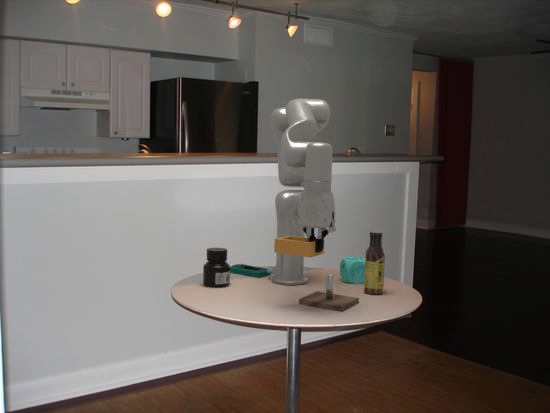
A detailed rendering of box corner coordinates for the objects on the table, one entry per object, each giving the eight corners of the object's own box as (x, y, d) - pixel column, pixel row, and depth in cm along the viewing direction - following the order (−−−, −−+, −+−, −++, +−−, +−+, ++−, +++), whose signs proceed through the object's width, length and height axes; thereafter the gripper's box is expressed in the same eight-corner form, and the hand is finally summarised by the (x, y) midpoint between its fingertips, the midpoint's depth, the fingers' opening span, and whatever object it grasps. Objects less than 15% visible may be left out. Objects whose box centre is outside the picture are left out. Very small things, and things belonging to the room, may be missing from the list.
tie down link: (274, 252, 173) (274, 238, 173) (288, 248, 180) (288, 235, 179) (310, 257, 167) (311, 243, 166) (324, 253, 174) (324, 239, 173)
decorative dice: (339, 279, 214) (339, 256, 213) (360, 278, 215) (361, 256, 215) (346, 284, 206) (347, 261, 205) (368, 283, 208) (369, 260, 207)
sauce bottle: (381, 295, 190) (384, 233, 188) (361, 293, 192) (364, 232, 190) (384, 291, 196) (387, 231, 194) (366, 289, 198) (368, 229, 197)
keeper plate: (298, 304, 178) (299, 274, 177) (316, 296, 188) (317, 267, 187) (342, 311, 171) (343, 280, 170) (358, 302, 181) (359, 273, 180)
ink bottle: (222, 289, 194) (222, 252, 192) (197, 286, 197) (198, 250, 195) (234, 283, 203) (235, 248, 201) (211, 280, 206) (211, 246, 204)
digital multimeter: (240, 270, 226) (240, 262, 226) (271, 276, 217) (272, 268, 217) (227, 273, 220) (227, 265, 220) (259, 279, 211) (259, 271, 211)
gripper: (287, 185, 170) (285, 250, 171) (336, 189, 161) (334, 256, 163) (300, 184, 176) (298, 246, 178) (348, 188, 168) (346, 253, 170)
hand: (315, 251), depth 170 cm, fingers closed on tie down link, 1 cm apart
